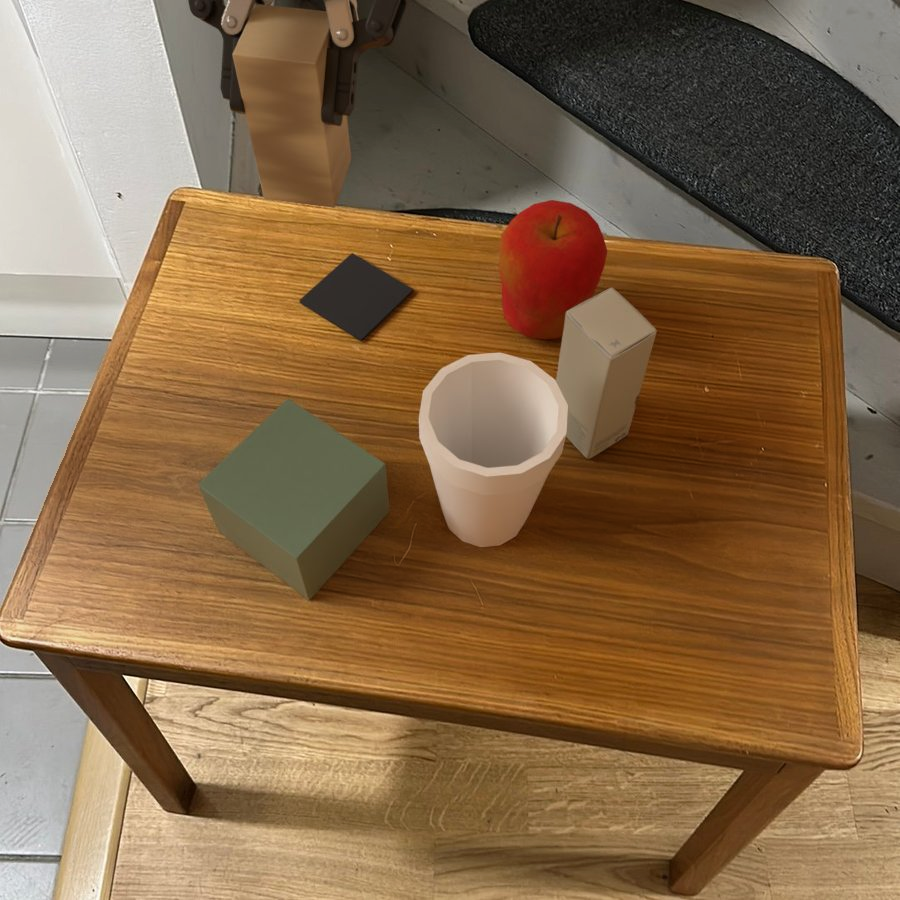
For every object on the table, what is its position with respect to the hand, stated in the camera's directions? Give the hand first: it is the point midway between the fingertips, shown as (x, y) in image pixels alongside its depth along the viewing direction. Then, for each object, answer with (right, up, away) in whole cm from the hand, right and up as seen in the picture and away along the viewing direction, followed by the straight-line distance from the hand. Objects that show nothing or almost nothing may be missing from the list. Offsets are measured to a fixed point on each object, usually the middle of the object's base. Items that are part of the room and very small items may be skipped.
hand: (286, 116), depth 51 cm
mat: (+1, -5, +29) cm, 29 cm away
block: (0, -2, +6) cm, 6 cm away
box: (+20, -17, +22) cm, 34 cm away
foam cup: (+12, -23, +18) cm, 32 cm away
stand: (-2, -24, +17) cm, 29 cm away
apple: (+17, -7, +28) cm, 34 cm away
